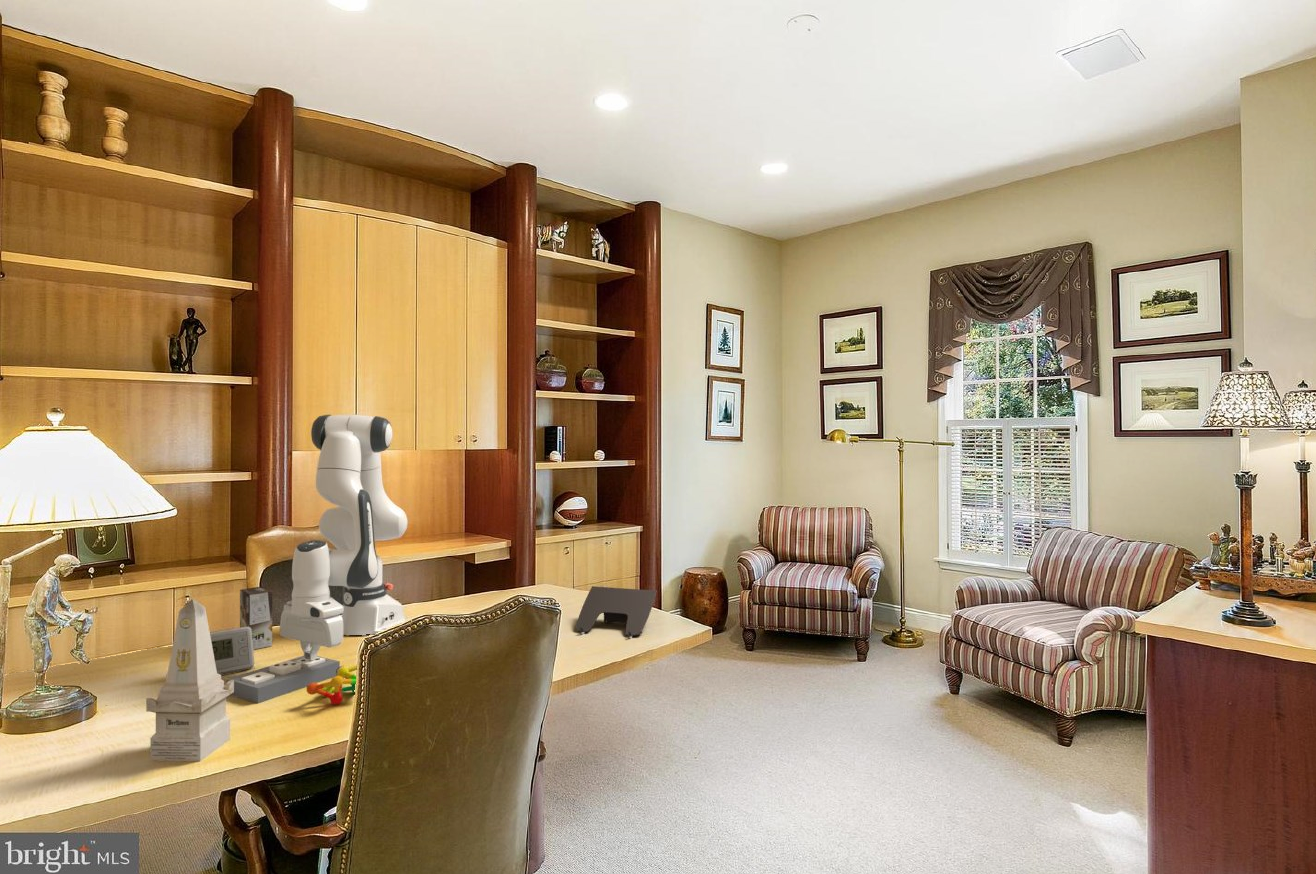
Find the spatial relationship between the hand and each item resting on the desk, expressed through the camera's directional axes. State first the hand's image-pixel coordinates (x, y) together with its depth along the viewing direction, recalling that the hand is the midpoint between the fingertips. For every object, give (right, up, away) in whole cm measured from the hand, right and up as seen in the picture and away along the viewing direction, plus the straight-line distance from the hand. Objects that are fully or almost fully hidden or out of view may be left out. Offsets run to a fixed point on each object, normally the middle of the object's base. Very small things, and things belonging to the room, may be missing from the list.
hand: (310, 658), depth 184 cm
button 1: (-7, -3, -12) cm, 14 cm away
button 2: (-3, -3, -6) cm, 7 cm away
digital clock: (-24, -4, +1) cm, 25 cm away
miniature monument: (-3, -5, -42) cm, 43 cm away
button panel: (-3, -4, -6) cm, 8 cm away
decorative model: (+15, -5, -15) cm, 21 cm away
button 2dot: (0, -3, 0) cm, 3 cm away
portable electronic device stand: (+75, -5, +48) cm, 89 cm away
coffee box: (-28, -4, +25) cm, 37 cm away
